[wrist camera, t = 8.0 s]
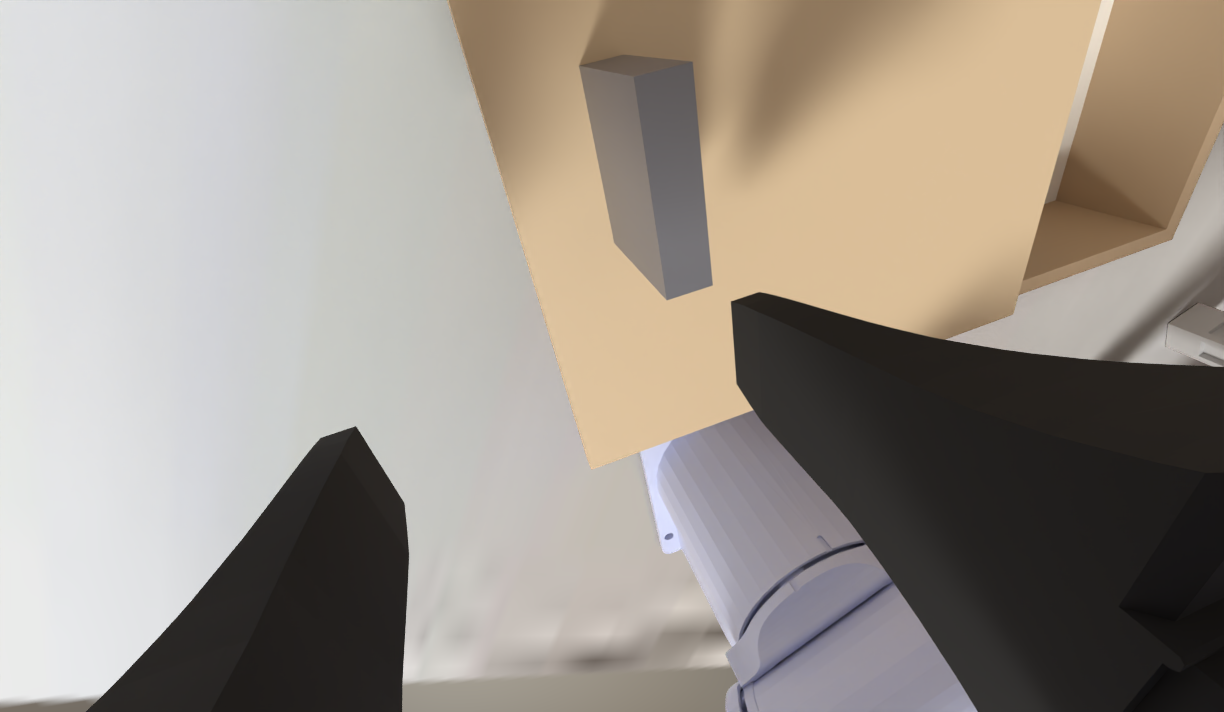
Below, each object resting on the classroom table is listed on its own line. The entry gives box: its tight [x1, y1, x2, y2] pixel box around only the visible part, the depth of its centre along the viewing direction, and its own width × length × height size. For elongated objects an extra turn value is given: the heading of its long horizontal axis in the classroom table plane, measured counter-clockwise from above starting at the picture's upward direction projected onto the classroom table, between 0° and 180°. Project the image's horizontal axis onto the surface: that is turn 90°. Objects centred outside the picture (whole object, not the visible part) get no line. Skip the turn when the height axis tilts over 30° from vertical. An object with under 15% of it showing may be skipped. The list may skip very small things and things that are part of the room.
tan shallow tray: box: [1019, 0, 1224, 295], centre depth 17 cm, size 18×16×5 cm
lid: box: [447, 0, 1102, 470], centre depth 12 cm, size 18×16×4 cm
